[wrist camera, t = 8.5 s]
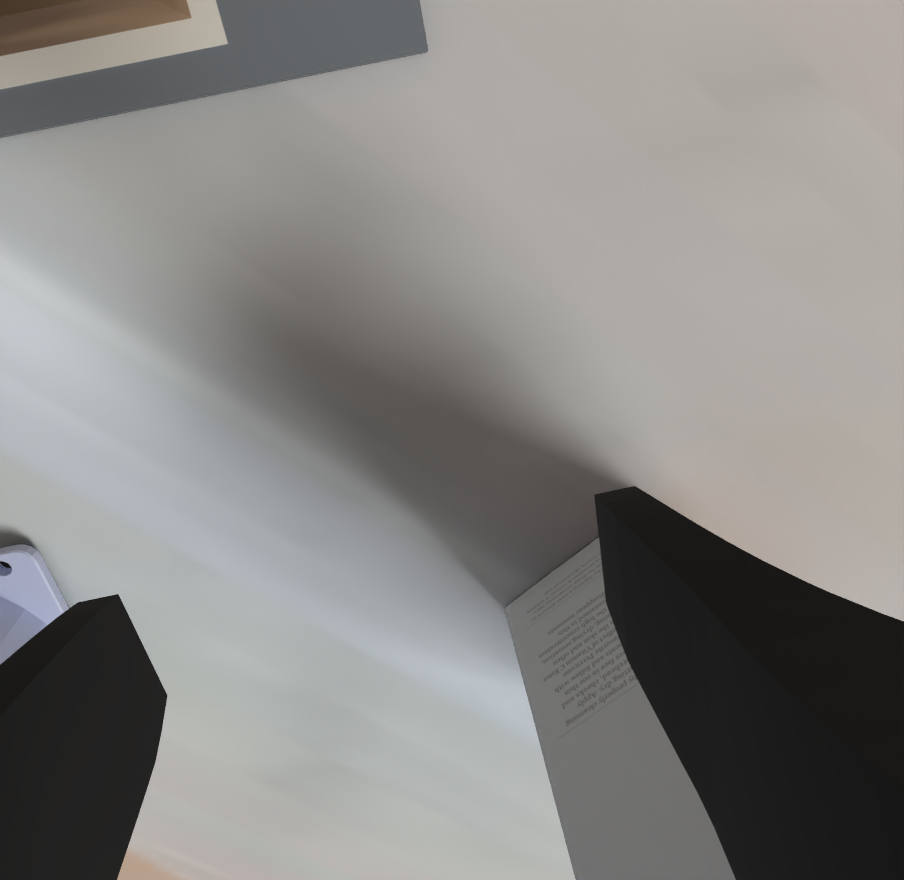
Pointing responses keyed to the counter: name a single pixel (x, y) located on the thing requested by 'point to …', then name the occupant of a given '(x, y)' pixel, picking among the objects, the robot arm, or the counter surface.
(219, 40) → the mat
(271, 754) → the counter surface
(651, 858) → the small box
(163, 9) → the walnut block
